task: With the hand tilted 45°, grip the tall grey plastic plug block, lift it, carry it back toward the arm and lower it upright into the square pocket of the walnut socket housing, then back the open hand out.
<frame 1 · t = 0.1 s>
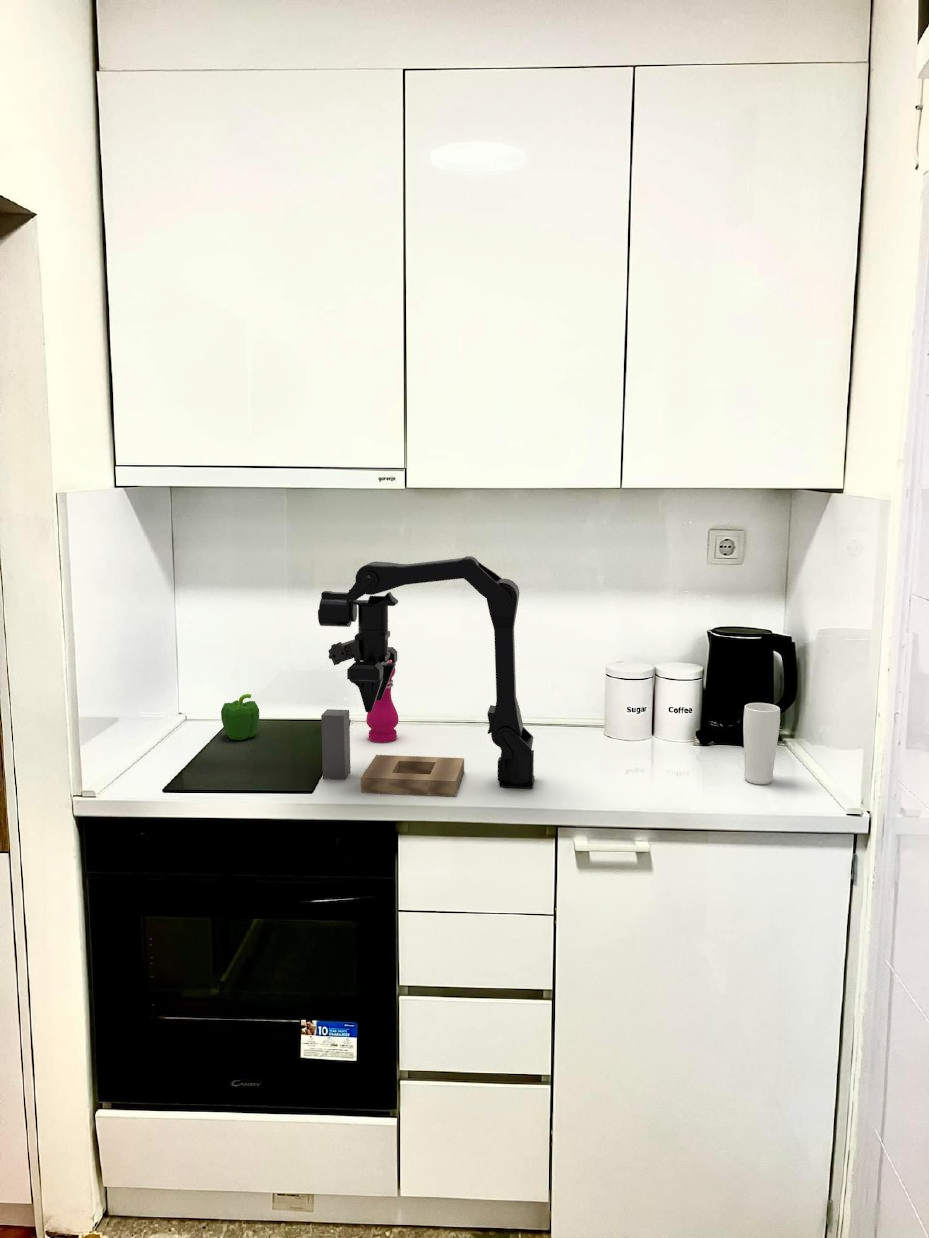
hand: (373, 705, 189), 15 cm above the worktop, tool pointing down, fingers open, 9 cm apart
drinking glass: (758, 781, 190), on the worktop
plug block: (336, 775, 193), on the worktop
pepper mill: (382, 739, 218), on the worktop
bell pepper: (241, 738, 219), on the worktop
socket housing: (414, 782, 189), on the worktop
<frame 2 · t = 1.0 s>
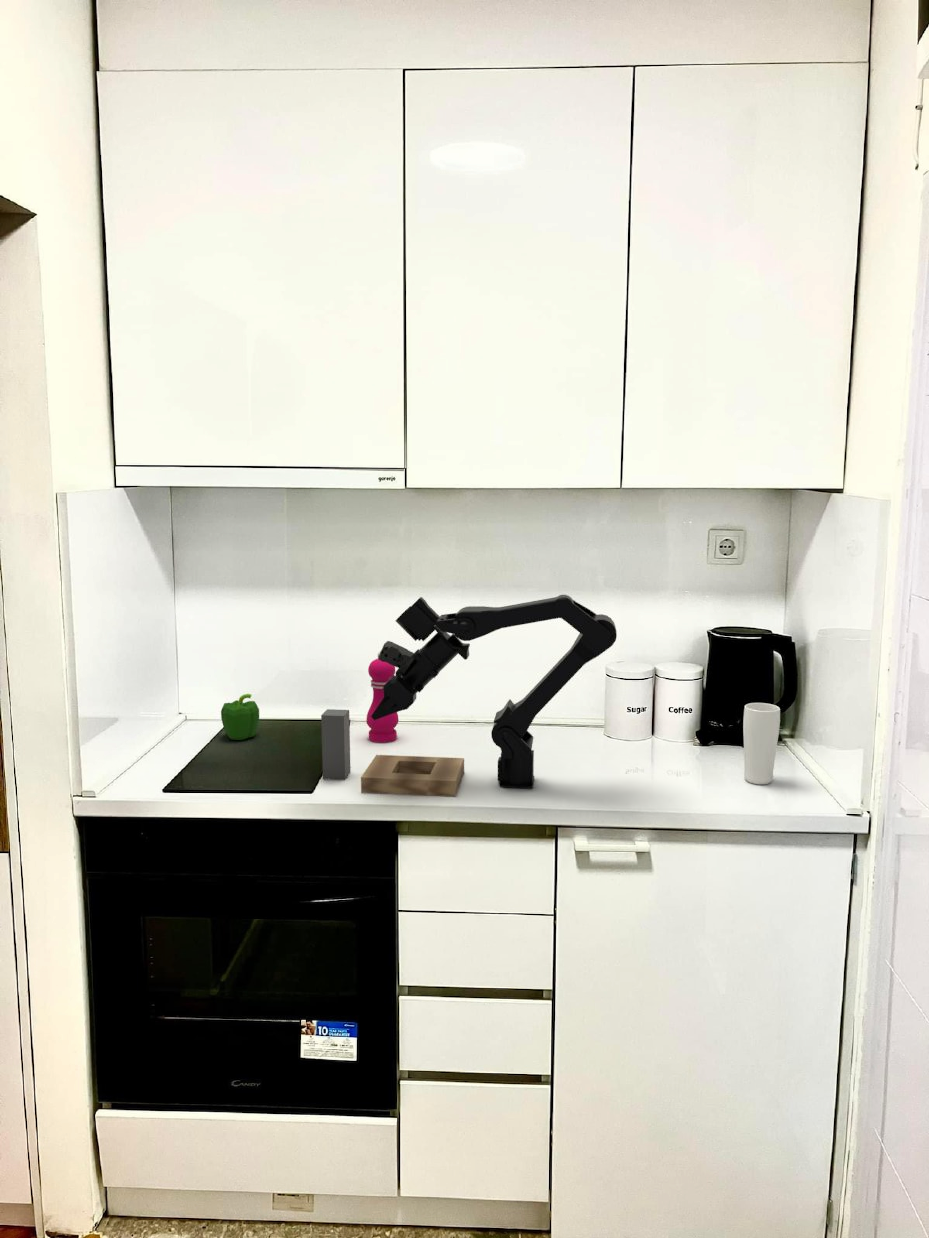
hand: (377, 711, 190), 13 cm above the worktop, tool tilted 45°, fingers open, 9 cm apart
nothing on the worktop moved.
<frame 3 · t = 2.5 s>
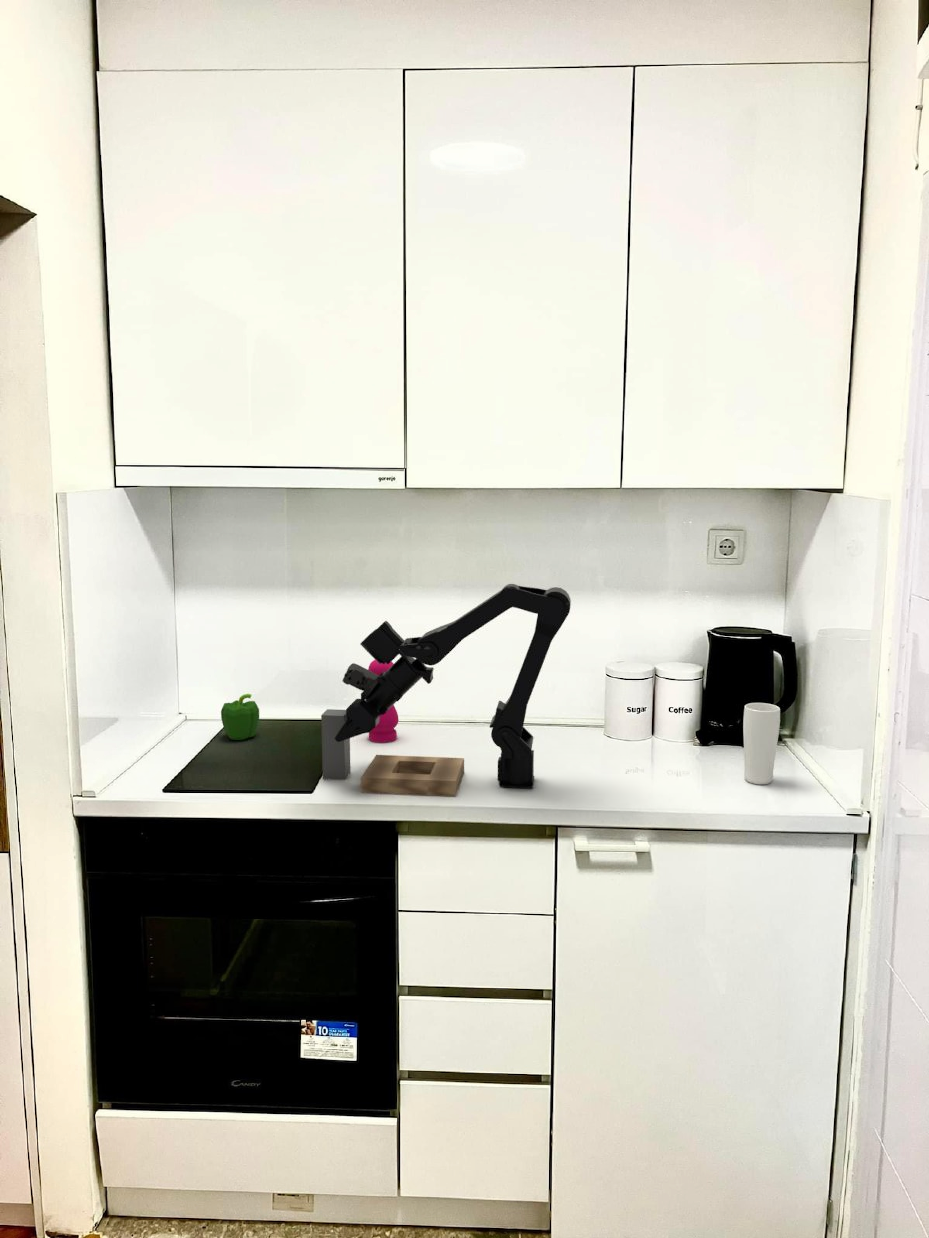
hand: (342, 733, 191), 9 cm above the worktop, tool tilted 45°, fingers open, 9 cm apart
nothing on the worktop moved.
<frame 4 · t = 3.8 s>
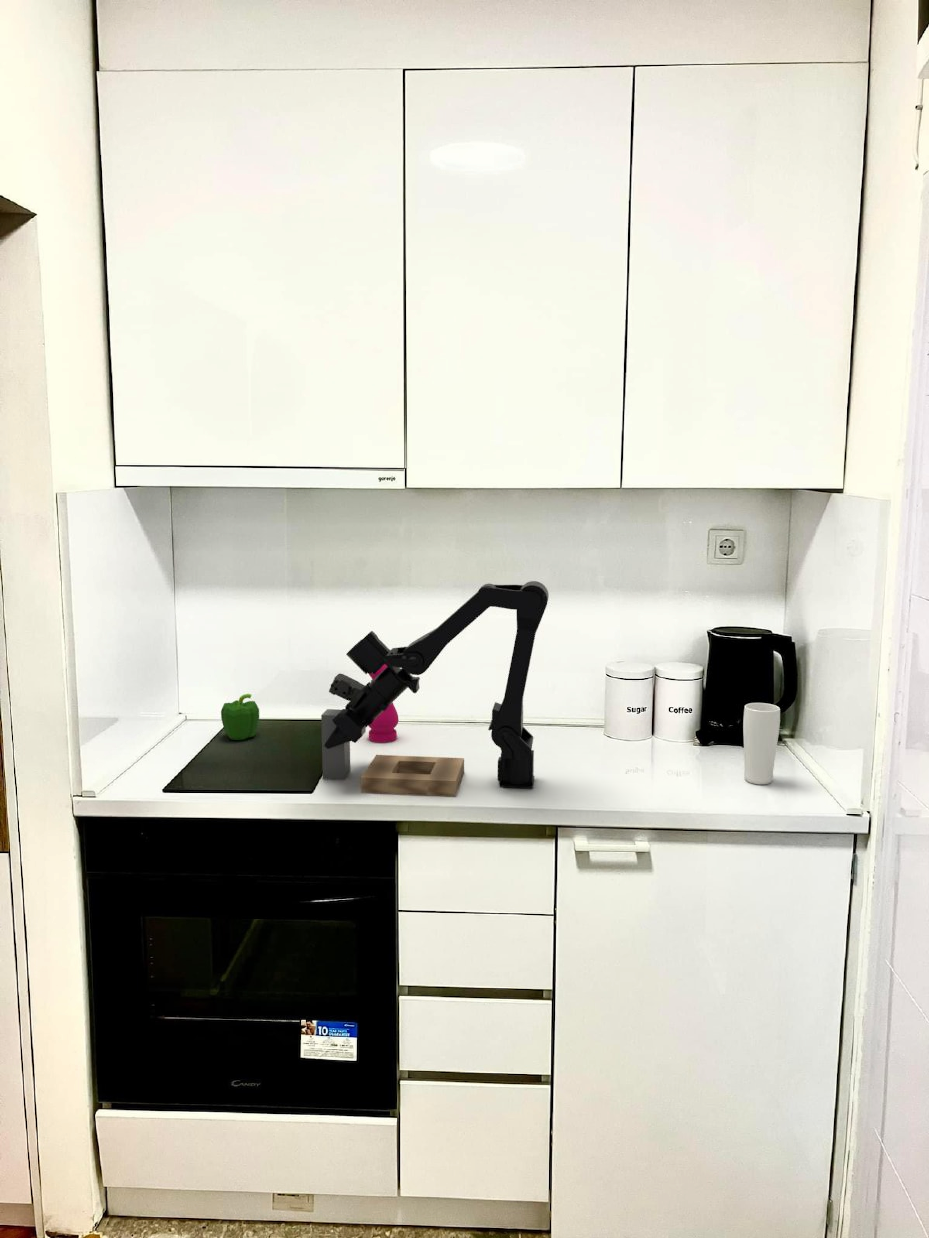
hand: (329, 743, 192), 7 cm above the worktop, tool tilted 45°, fingers closed on plug block, 4 cm apart
plug block: (336, 775, 193), on the worktop, touching gripper
everything else where it was.
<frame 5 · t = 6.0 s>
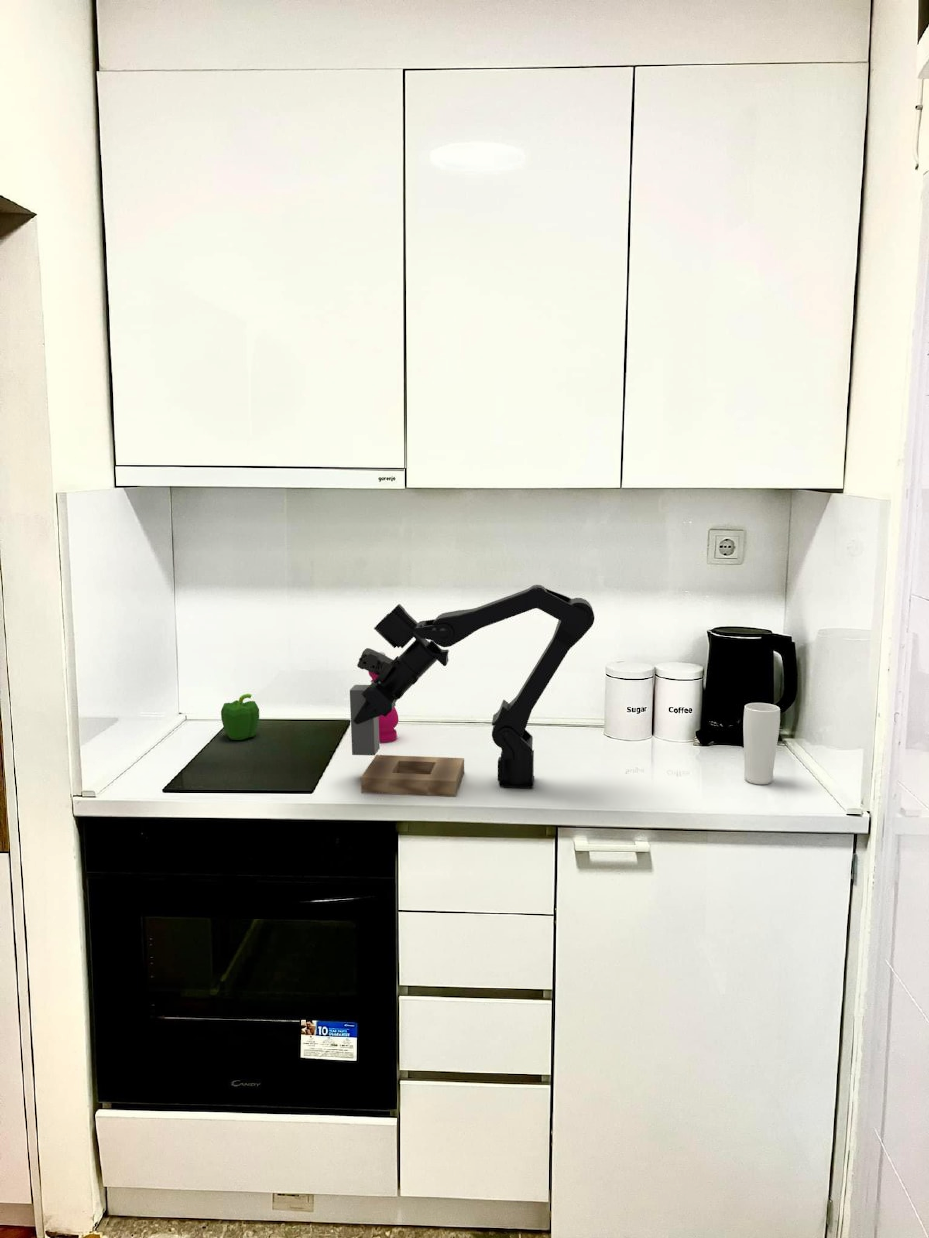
hand: (358, 719, 190), 12 cm above the worktop, tool tilted 45°, fingers closed on plug block, 4 cm apart
plug block: (366, 751, 191), point 5 cm above the worktop, touching gripper
everything else where it was.
when the fingers open (7 cm above the worktop, at t = 8.4 s): plug block stays where it is, resting in socket housing.
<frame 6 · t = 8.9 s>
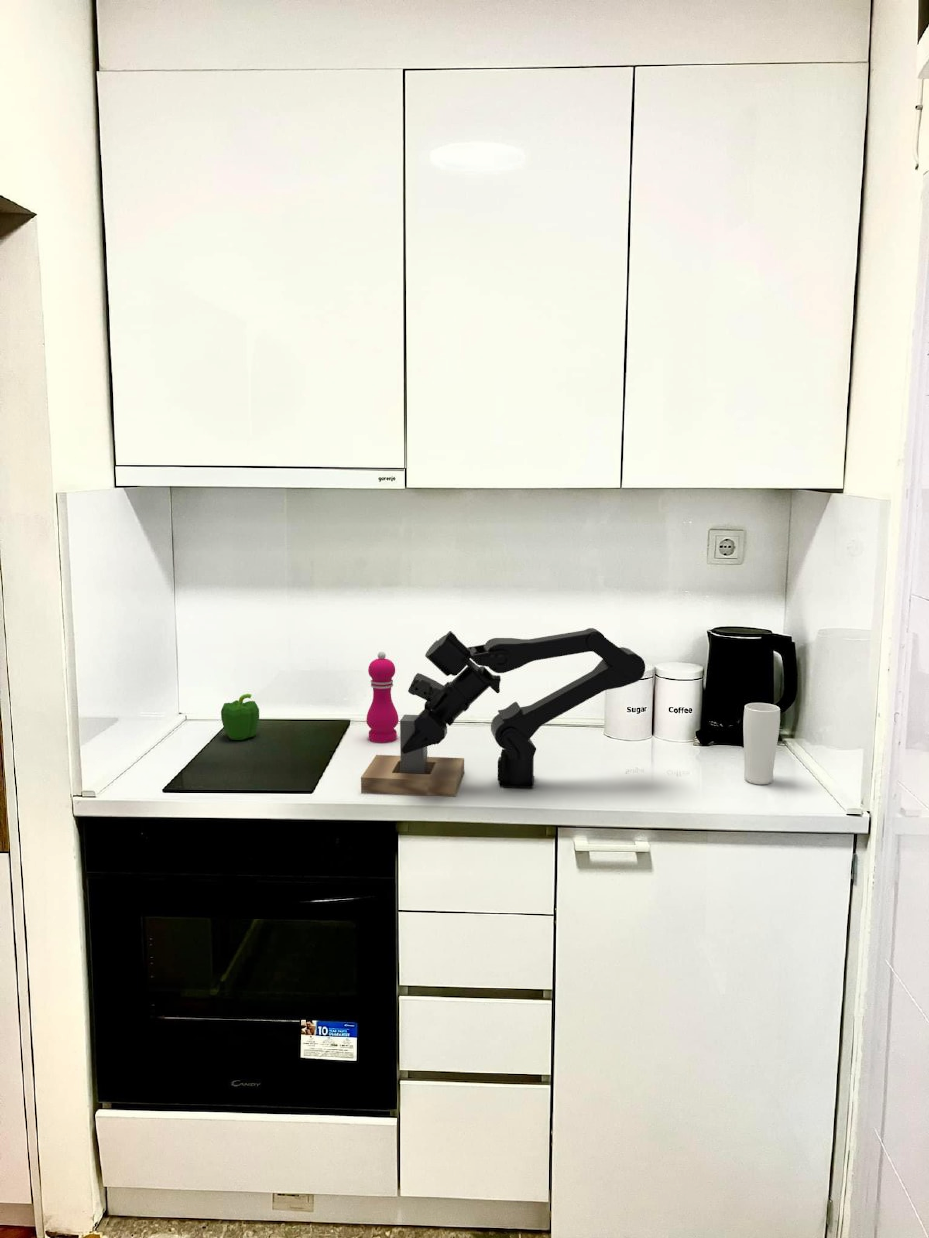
hand: (406, 744, 188), 8 cm above the worktop, tool tilted 45°, fingers open, 9 cm apart
plug block: (414, 782, 189), resting in socket housing
everything else where it was.
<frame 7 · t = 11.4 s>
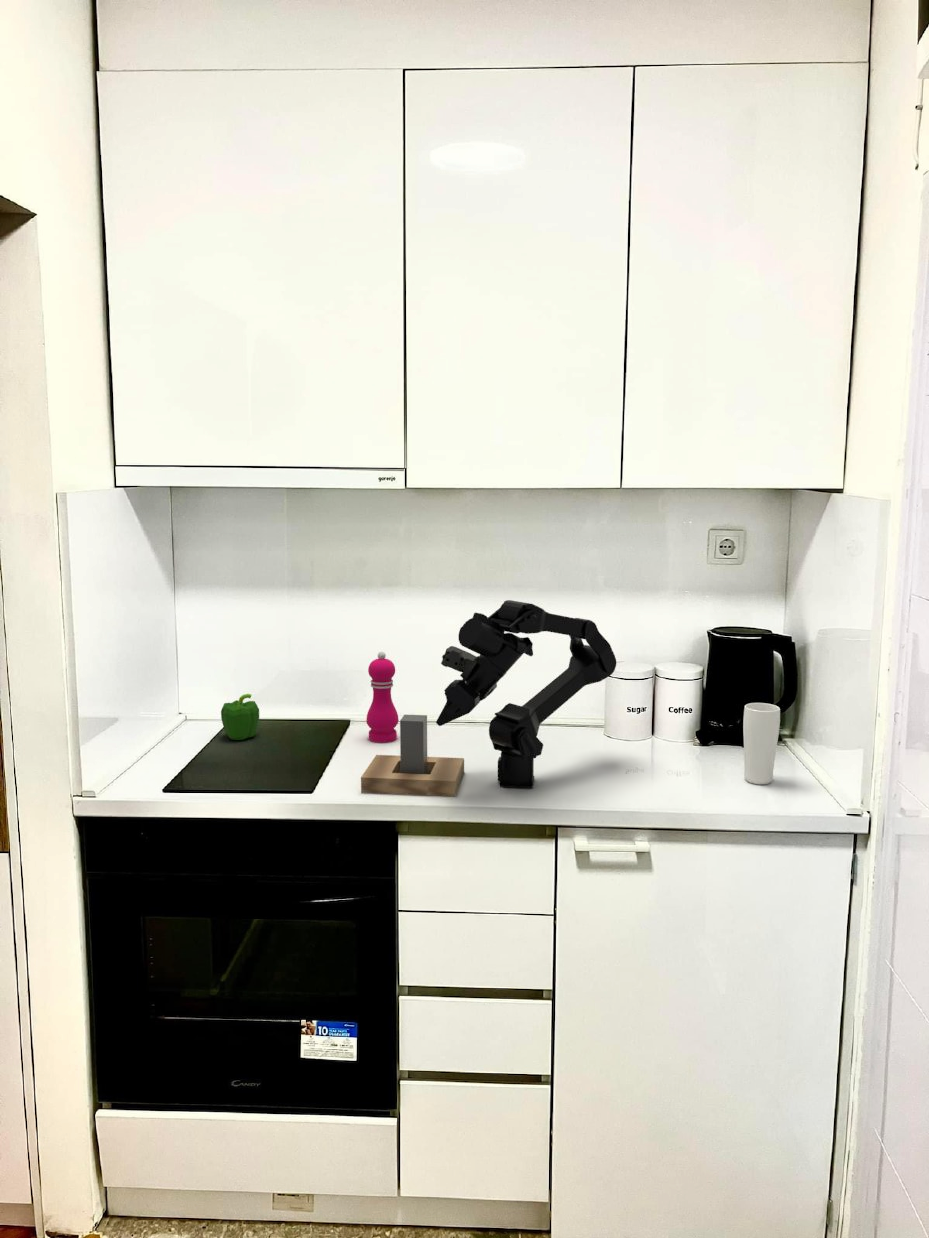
hand: (444, 718, 187), 13 cm above the worktop, tool tilted 40°, fingers open, 9 cm apart
nothing on the worktop moved.
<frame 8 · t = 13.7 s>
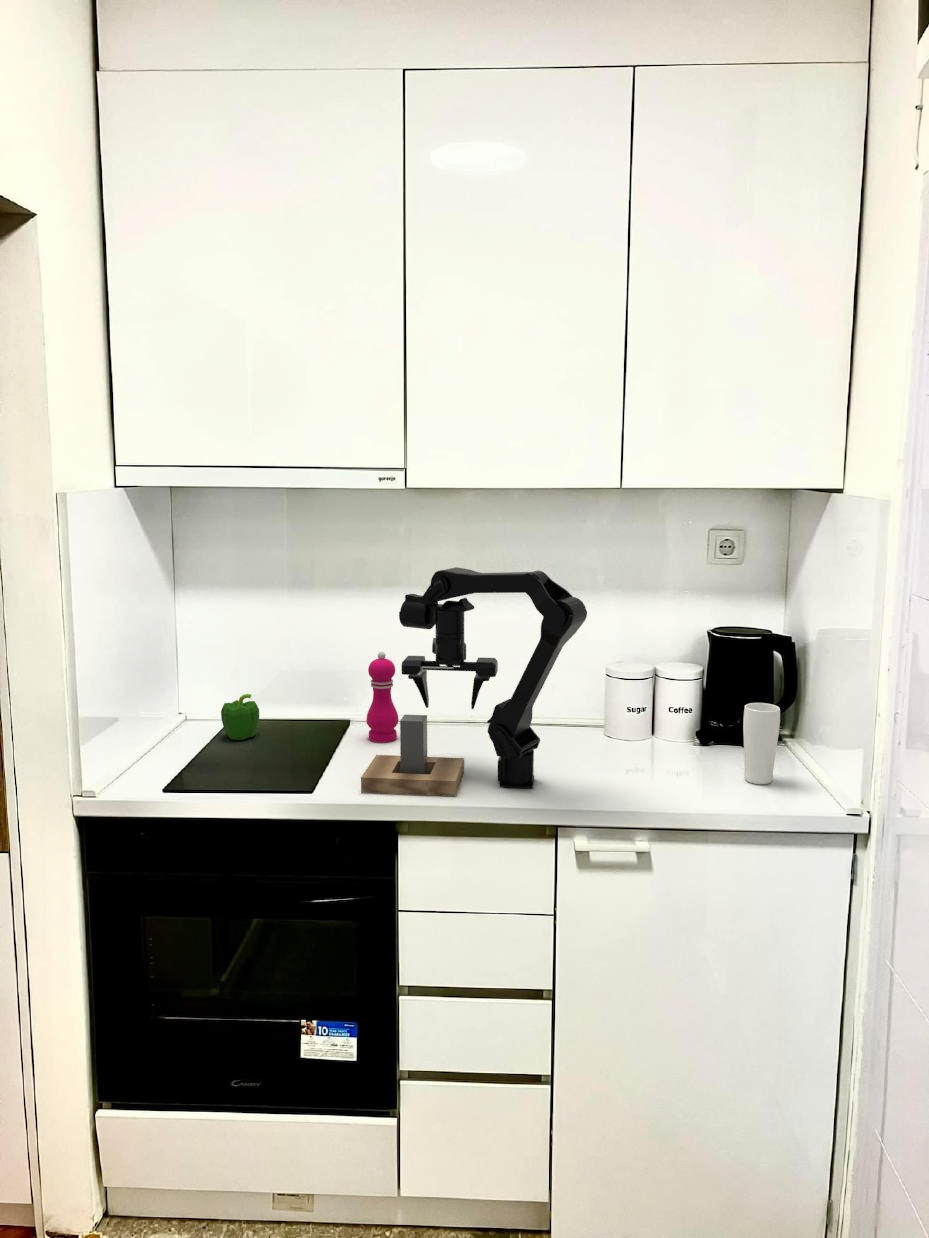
hand: (449, 708, 194), 13 cm above the worktop, tool pointing down, fingers open, 9 cm apart
nothing on the worktop moved.
at the end: plug block 0.0 cm off-centre on the socket housing, point 0.0 cm above the socket housing's base; plug block tilted 0°; the gripper is holding nothing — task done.
